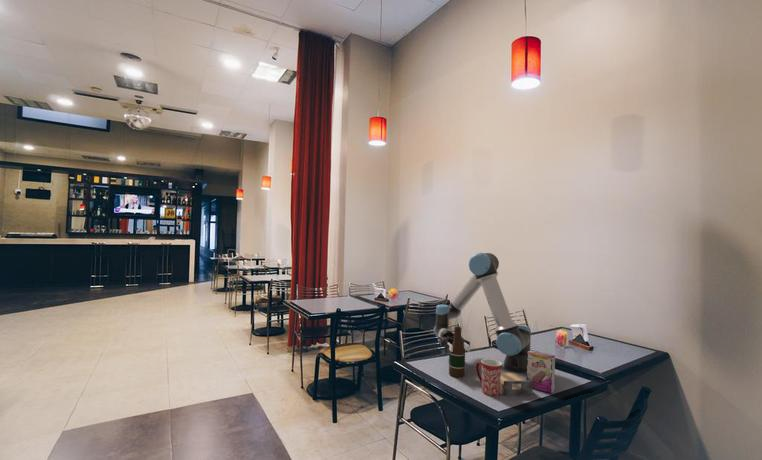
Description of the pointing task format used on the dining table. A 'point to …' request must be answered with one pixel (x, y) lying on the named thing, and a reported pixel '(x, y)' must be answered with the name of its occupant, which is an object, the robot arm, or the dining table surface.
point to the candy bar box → (541, 370)
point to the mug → (490, 376)
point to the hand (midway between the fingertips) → (460, 348)
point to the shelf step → (514, 385)
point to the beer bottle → (457, 355)
